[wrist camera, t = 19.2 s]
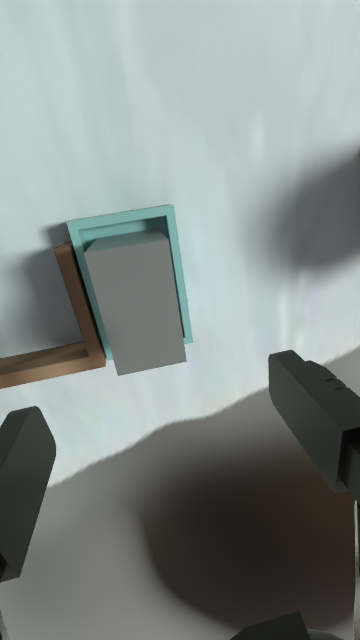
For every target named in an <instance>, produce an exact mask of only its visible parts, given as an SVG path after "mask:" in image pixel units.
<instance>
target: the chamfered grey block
mask: <svg viewBox="0 0 360 640" xmlns="http://www.w3.org/2000/svg"><path fill="white" fill-rule="evenodd" d="M84 255H85V259H86V263H87V266H88V270H89V273H90V277H91V281H92V284H93V288H94V291H95V295H96V299H97V302H98V306H99V309H100V313H101V317H102V320H103V324H104V327H105V331H106V334H107V338H108V342H109V345H110V349H111V352H112V356H113V360H114V363H115V367H116V370H117V374H118V376H120V375H125V374H129V373H134V372H139V371H144V370H148V369H153V368H158V367H163V366H167V365H172V364H177V363H182V362H186V354H185V347H184V340H183V334H182V327H181V320H180V314H179V307H178V300H177V294H176V287H175V280H174V273H173V267H172V260H171V253H170V247H169V240H168V238H166V237H165V236H164V235H163V234H162V233H161V232H160V231H159V230H158V229H157V228H156V229H150V230H143V231H137V232H131V233H125V234H119V235H112V236H106V237H100V238H97V239H96V240H95V241H94V243H93V244H92V245H91V246H90V247H89V248H88V249H87V250H86V252H85V253H84Z"/></svg>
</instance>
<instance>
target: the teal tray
mask: <svg viewBox="0 0 360 640" xmlns="http://www.w3.org/2000/svg"><path fill="white" fill-rule="evenodd" d="M66 223H67V226H68V230H69V233H70V237H71V240H72V243H73V247H74V250H75V253H76V257H77V260H78V263H79V267H80V270H81V273H82V277H83V280H84V283H85V287H86V290H87V293H88V297H89V300H90V303H91V307H92V310H93V313H94V317H95V320H96V323H97V327H98V330H99V334H100V337H101V340H102V344H103V347H104V350H105V354H106V357H107V360H111V359H113V356H112V352H111V349H110V345H109V342H108V338H107V334H106V331H105V327H104V324H103V320H102V317H101V313H100V309H99V306H98V302H97V299H96V295H95V291H94V288H93V284H92V281H91V277H90V273H89V270H88V266H87V263H86V259H85V255H84V253H85V252H86V250H87V249H88V248H89V247H90V246H91V245H92V244H93V243H94V241H95V240H96V239H97V238H100V237H106V236H112V235H119V234H125V233H131V232H137V231H143V230H150V229H156V228H157V229H158V230H159V231H160V232H161V233H162V234H163V235H164V236H165V237H166V238H168V240H169V247H170V253H171V260H172V267H173V273H174V280H175V287H176V294H177V300H178V307H179V314H180V320H181V327H182V334H183V340H184V344H187V343H192V342H193V338H192V331H191V324H190V317H189V310H188V303H187V296H186V289H185V282H184V275H183V268H182V261H181V254H180V247H179V240H178V233H177V226H176V219H175V211H174V205H170V204H169V205H162V206H156V207H150V208H144V209H138V210H131V211H125V212H119V213H113V214H107V215H100V216H94V217H88V218H82V219H76V220H71V221H68V222H66Z"/></svg>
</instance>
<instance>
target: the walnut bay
mask: <svg viewBox="0 0 360 640" xmlns="http://www.w3.org/2000/svg"><path fill="white" fill-rule="evenodd" d="M54 252H55V255H56V258H57V261H58V264H59V267H60V270H61V273H62V276H63V279H64V282H65V285H66V288H67V291H68V294H69V297H70V300H71V303H72V306H73V309H74V312H75V315H76V318H77V321H78V324H79V327H80V330H81V333H82V336H83V340H84V342H81V343H76V344H71V345H66V346H61V347H56V348H51V349H46V350H41V351H36V352H32V353H27V354H22V355H17V356H12V357H7V358H2V359H0V389H2V388H7V387H12V386H16V385H21V384H26V383H30V382H35V381H40V380H45V379H49V378H54V377H59V376H63V375H68V374H73V373H77V372H82V371H87V370H91V369H96V368H101V367H105V366H106V359H107V357H106V354H105V350H104V347H103V344H102V340H101V337H100V334H99V330H98V327H97V323H96V320H95V317H94V313H93V310H92V307H91V303H90V300H89V297H88V293H87V290H86V287H85V283H84V280H83V277H82V273H81V270H80V267H79V263H78V260H77V257H76V253H75V250H74V247H73V243H72V242H69V243H63V244H62V245H60V246H59V247H57V248H55V249H54Z"/></svg>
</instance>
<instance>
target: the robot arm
mask: <svg viewBox="0 0 360 640" xmlns="http://www.w3.org/2000/svg"><path fill="white" fill-rule="evenodd" d="M268 362H269V392H270V396H271V400H272V402H273V404H274V406H275V407H276V409H277V411H278V412H279V414H280V415H281V416H282V418H283V419H284V421H285V422H286V424H287V425H288V427H289V428H290V429H291V431H292V433H293V434H294V435H295V437H296V438H297V440H298V441H299V443H300V444H301V446H302V447H303V449H304V450H305V452H306V453H307V455H308V456H309V457H310V459H311V460H312V462H313V463H314V465H315V466H316V468H317V469H318V471H319V472H320V473H321V475H322V476H323V478H324V479H325V481H326V482H327V484H328V485H329V487H330V488H331V489H332V491H333V493H334V494H336V493H340V492H344V491H347V490H349V491H350V492H351V494H352V495H353V497H354V498H355V547H356V596H355V607H354V640H360V397H359V396H358V395H356V394H355V393H354V392H353V391H352V390H351V389H350V388H347V387H346V385H345V384H344V383H343V382H342V381H340V380H339V379H337V377H336V376H335V375H334V374H332V373H331V372H330V371H329V370H328V369H327V368H326V367H324V366H321V365H319V364H317V363H315V362H313V361H311V360H310V361H304V360H303V359H302V358H301V357H300V356H299V355H298V354H297V353H295V352H294V351H293V350H287V351H283V352H278V353H274V354H270V355H269V360H268ZM55 457H56V444H55V440H54V437H53V435H52V433H51V431H50V429H49V427H48V425H47V423H46V421H45V419H44V417H43V414H42V412H41V410H40V409H39V408H38V407H37V406H33V407H29V408H24V409H20V410H15V411H11V412H10V413H9V414H8V415H7V417H6V418H5V420H4V422H3V424H2V425H1V427H0V582H3V581H7V580H11V579H14V578H18V577H20V574H21V571H22V567H23V564H24V560H25V557H26V554H27V551H28V547H29V544H30V540H31V537H32V534H33V530H34V527H35V524H36V521H37V517H38V514H39V511H40V507H41V504H42V501H43V497H44V494H45V491H46V487H47V484H48V481H49V477H50V474H51V471H52V467H53V464H54V461H55ZM0 640H10V639H9V636H8V633H7V630H6V626H5V623H4V620H3V616H2V613H1V610H0ZM230 640H344V639H341V638H339V637H336V636H334V635H332V634H329V633H326V632H322V631H318V630H313V629H306V626H305V624H304V621H303V619H302V616H301V614H300V611H298V612H294V613H291V614H288V615H285V616H281V617H278V618H275V619H271V620H268V621H264V622H261V623H258V624H254V625H251V626H248V627H245V628H244V629H243V630H242V631H240V632H239V633H238V634H236V635H235V636H234V637H233V638H232V639H230Z"/></svg>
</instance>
